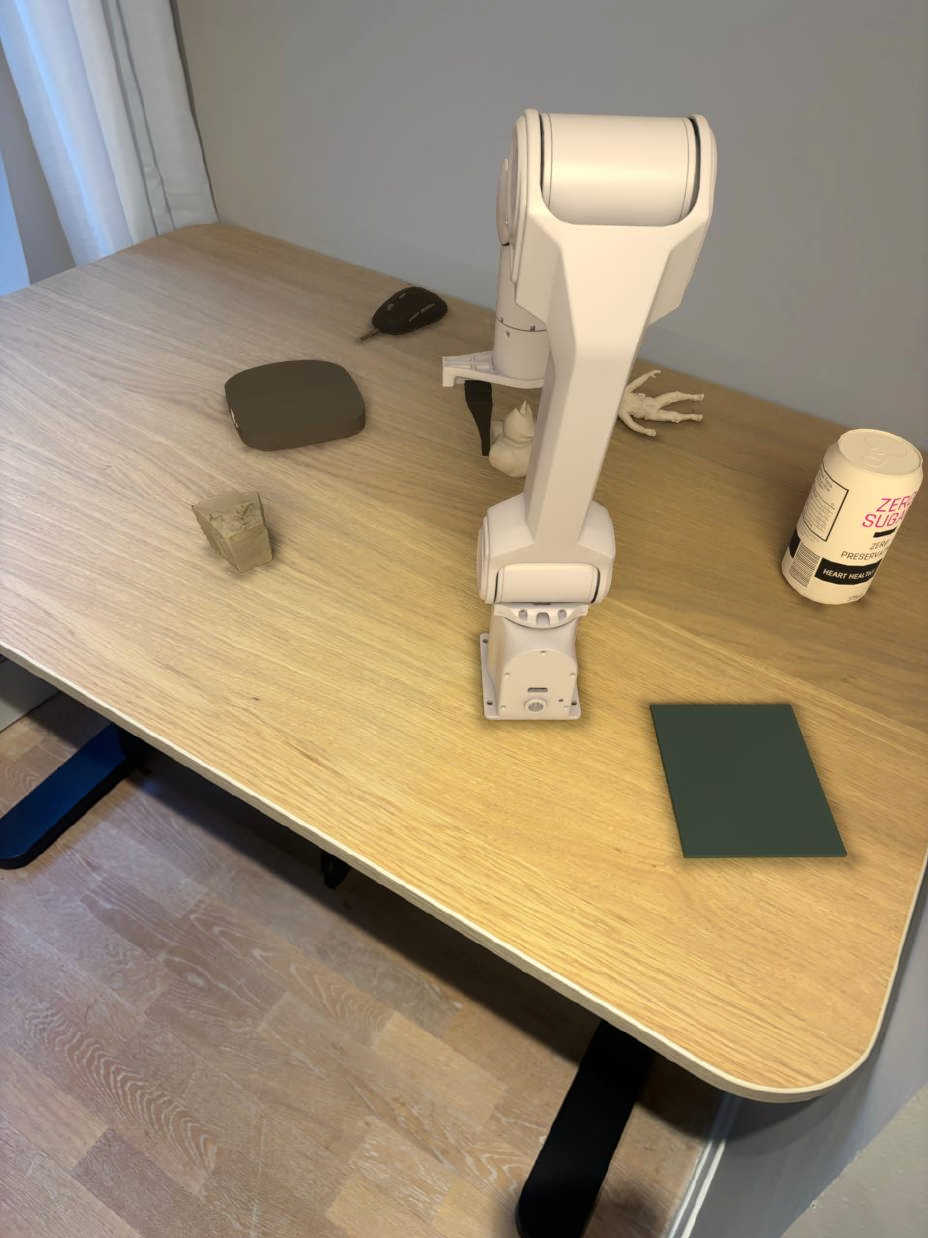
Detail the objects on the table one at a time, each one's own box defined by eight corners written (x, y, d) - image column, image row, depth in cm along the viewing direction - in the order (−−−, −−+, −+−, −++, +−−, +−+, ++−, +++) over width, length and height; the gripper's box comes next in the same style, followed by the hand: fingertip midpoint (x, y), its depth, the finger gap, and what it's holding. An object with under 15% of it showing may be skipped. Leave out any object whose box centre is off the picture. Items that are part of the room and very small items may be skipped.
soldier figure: (701, 444, 103) (616, 426, 98) (675, 450, 107) (593, 433, 102) (707, 378, 103) (622, 357, 98) (680, 388, 108) (598, 368, 103)
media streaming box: (374, 435, 100) (373, 412, 97) (246, 458, 95) (242, 435, 93) (339, 372, 109) (337, 350, 107) (221, 391, 105) (217, 369, 103)
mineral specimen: (178, 557, 83) (177, 481, 78) (258, 537, 88) (262, 465, 83) (216, 597, 79) (218, 521, 74) (298, 574, 84) (304, 501, 80)
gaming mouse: (345, 331, 116) (343, 303, 114) (424, 298, 124) (425, 270, 121) (377, 349, 114) (376, 320, 111) (456, 313, 121) (457, 286, 119)
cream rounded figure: (515, 494, 82) (523, 420, 76) (468, 462, 85) (472, 389, 80) (555, 472, 85) (565, 400, 79) (508, 442, 88) (514, 370, 82)
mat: (845, 857, 64) (847, 854, 64) (684, 858, 63) (685, 855, 63) (789, 707, 74) (791, 704, 73) (649, 707, 73) (650, 704, 73)
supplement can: (799, 541, 89) (851, 414, 79) (878, 578, 86) (943, 450, 75) (764, 581, 85) (815, 452, 74) (846, 621, 81) (911, 492, 71)
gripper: (606, 296, 77) (585, 428, 87) (442, 292, 76) (439, 426, 86) (619, 334, 72) (595, 470, 82) (444, 331, 71) (441, 468, 81)
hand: (515, 450), depth 84 cm, fingers closed on cream rounded figure, 5 cm apart
